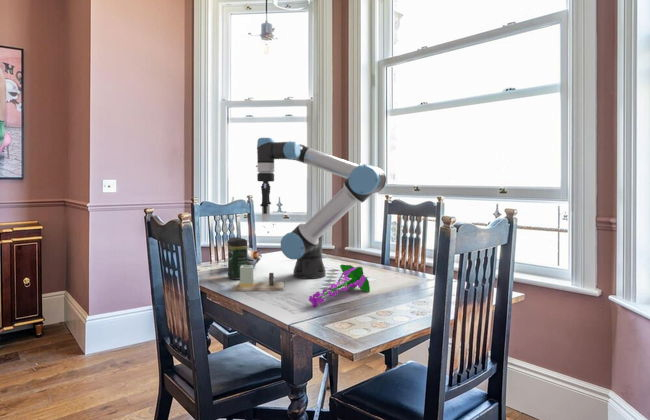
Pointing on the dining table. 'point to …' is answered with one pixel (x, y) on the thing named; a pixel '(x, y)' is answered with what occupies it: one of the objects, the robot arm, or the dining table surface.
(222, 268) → the dining table surface
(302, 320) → the dining table surface
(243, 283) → the sleeve
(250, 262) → the lucky cat figurine
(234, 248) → the coffee jar
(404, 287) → the dining table surface
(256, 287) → the pin board
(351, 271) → the purple and green stem
